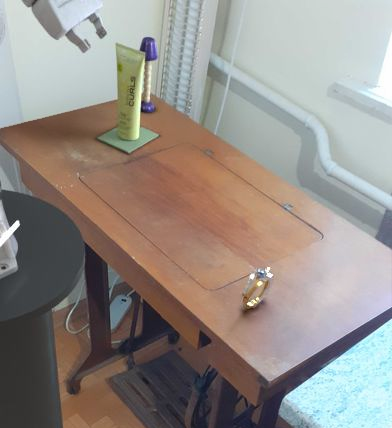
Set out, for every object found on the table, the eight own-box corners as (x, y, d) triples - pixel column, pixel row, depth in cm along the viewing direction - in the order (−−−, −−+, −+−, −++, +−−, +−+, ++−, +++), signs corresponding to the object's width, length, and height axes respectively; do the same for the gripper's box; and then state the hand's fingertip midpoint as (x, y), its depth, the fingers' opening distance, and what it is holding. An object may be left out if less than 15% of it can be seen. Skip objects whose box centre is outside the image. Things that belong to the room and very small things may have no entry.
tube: (116, 141, 125) (117, 50, 110) (114, 130, 128) (115, 41, 114) (140, 141, 126) (145, 52, 112) (137, 131, 129) (142, 43, 115)
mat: (128, 153, 123) (128, 152, 122) (97, 139, 125) (97, 137, 125) (158, 135, 130) (158, 134, 130) (128, 122, 133) (128, 121, 132)
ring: (259, 293, 96) (270, 258, 90) (272, 303, 95) (284, 268, 89) (232, 308, 93) (240, 272, 87) (244, 319, 91) (254, 284, 86)
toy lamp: (152, 114, 137) (157, 43, 125) (134, 111, 137) (137, 40, 124) (155, 106, 140) (160, 36, 128) (137, 103, 140) (141, 33, 128)
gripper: (62, -23, 117) (104, 37, 123) (16, 2, 103) (66, 68, 109) (81, -43, 113) (123, 19, 119) (36, -20, 99) (87, 49, 106)
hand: (96, 43), depth 114 cm, fingers open, 8 cm apart
